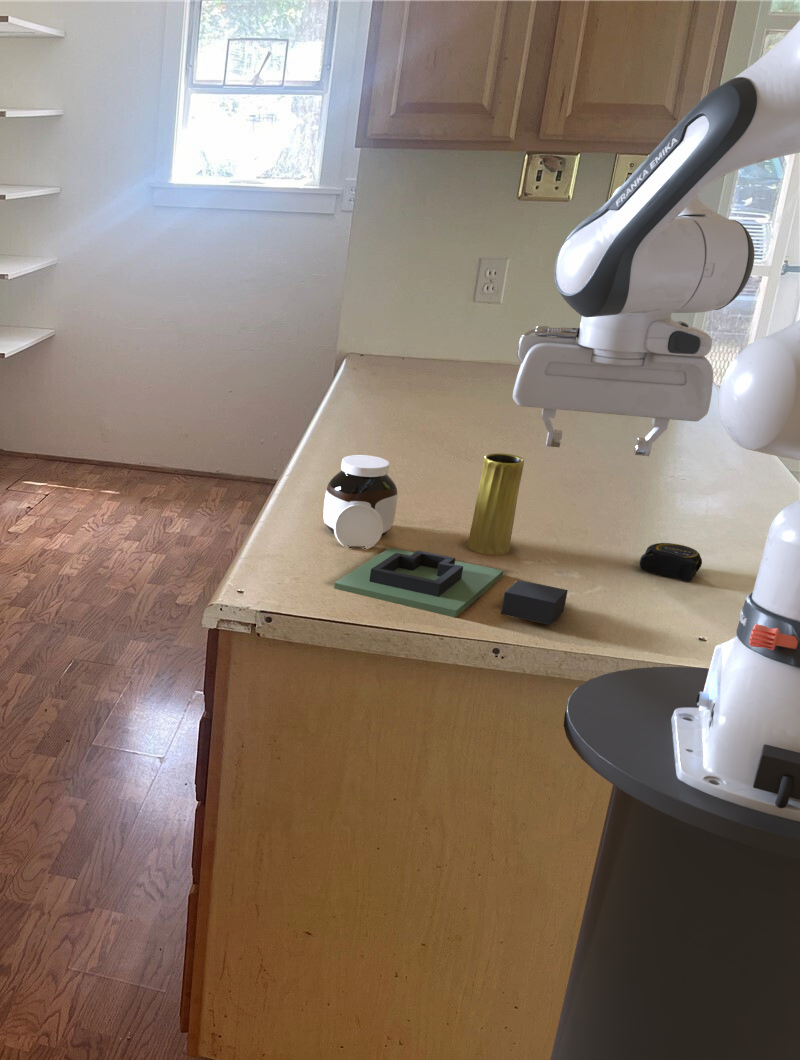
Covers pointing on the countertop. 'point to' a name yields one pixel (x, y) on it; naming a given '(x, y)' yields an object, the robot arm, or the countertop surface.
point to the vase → (496, 504)
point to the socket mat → (421, 581)
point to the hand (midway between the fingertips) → (596, 450)
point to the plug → (534, 602)
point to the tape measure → (671, 561)
